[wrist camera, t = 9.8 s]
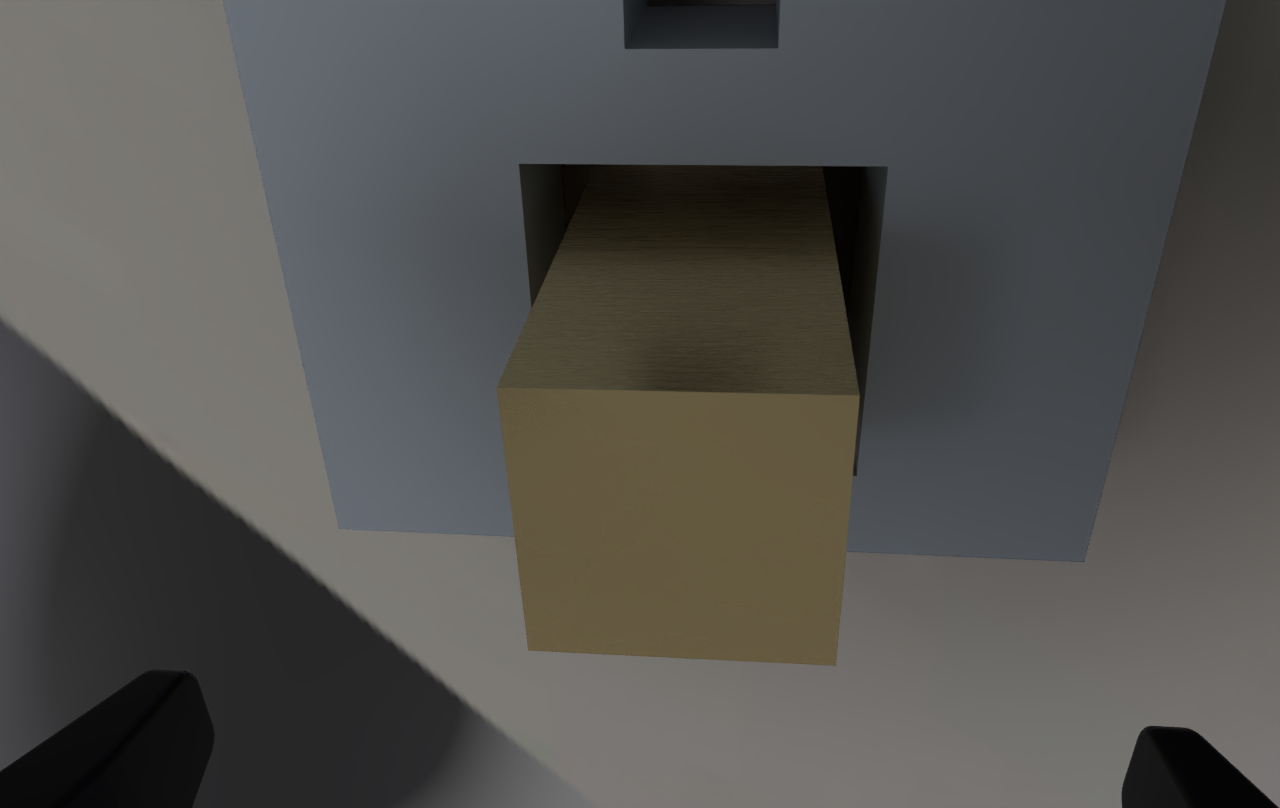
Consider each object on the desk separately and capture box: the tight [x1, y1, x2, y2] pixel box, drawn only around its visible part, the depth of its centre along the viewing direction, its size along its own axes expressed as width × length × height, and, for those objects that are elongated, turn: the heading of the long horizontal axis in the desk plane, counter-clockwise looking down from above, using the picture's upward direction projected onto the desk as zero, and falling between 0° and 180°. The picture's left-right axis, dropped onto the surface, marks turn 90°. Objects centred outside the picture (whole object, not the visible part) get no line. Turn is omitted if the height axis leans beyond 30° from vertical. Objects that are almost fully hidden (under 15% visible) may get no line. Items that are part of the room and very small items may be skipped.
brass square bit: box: [496, 164, 860, 666], centre depth 16 cm, size 4×4×9 cm
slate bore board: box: [223, 0, 1227, 562], centre depth 17 cm, size 14×16×4 cm
